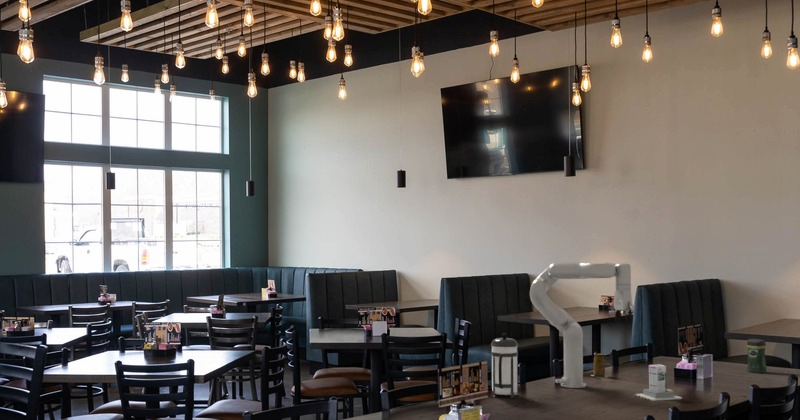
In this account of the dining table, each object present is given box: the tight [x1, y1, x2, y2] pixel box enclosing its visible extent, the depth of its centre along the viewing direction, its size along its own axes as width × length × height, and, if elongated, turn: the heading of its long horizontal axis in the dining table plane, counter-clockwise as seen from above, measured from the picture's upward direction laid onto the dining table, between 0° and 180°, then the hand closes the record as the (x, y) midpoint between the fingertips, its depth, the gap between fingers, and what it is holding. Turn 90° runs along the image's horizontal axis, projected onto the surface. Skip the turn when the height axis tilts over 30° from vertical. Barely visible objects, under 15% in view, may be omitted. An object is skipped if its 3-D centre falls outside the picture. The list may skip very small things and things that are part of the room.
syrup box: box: [648, 363, 667, 392], centre depth 389 cm, size 6×6×14 cm
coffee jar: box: [746, 338, 767, 374], centre depth 463 cm, size 10×8×19 cm
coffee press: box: [490, 332, 519, 399], centre depth 390 cm, size 17×16×30 cm
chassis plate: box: [634, 388, 683, 402], centre depth 388 cm, size 16×14×3 cm
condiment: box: [590, 353, 609, 379], centre depth 448 cm, size 7×8×12 cm
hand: (623, 321), depth 414 cm, fingers open, 9 cm apart
